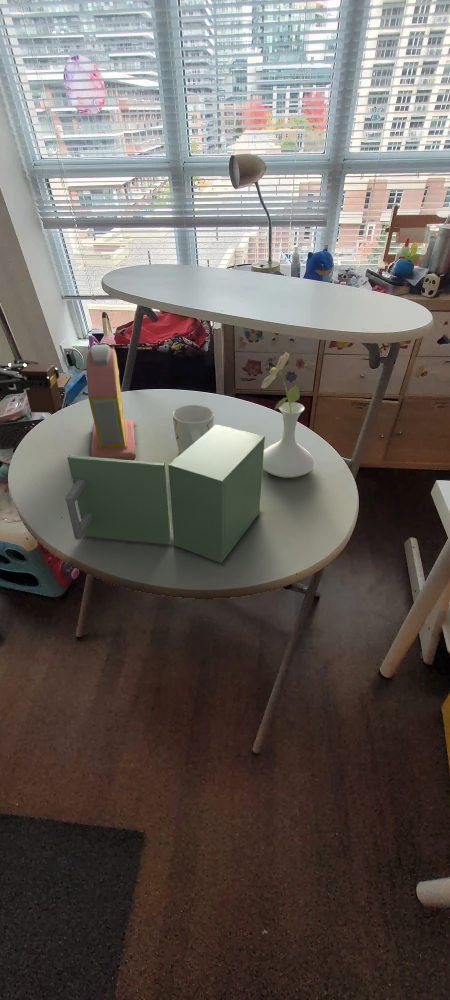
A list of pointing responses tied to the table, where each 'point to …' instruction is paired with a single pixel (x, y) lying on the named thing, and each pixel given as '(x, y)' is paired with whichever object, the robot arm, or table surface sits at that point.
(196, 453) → the cupboard
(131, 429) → the yellow alarm clock
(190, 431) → the mug
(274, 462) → the flower in vase
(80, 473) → the cupboard door
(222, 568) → the table surface
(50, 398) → the chocolate box
